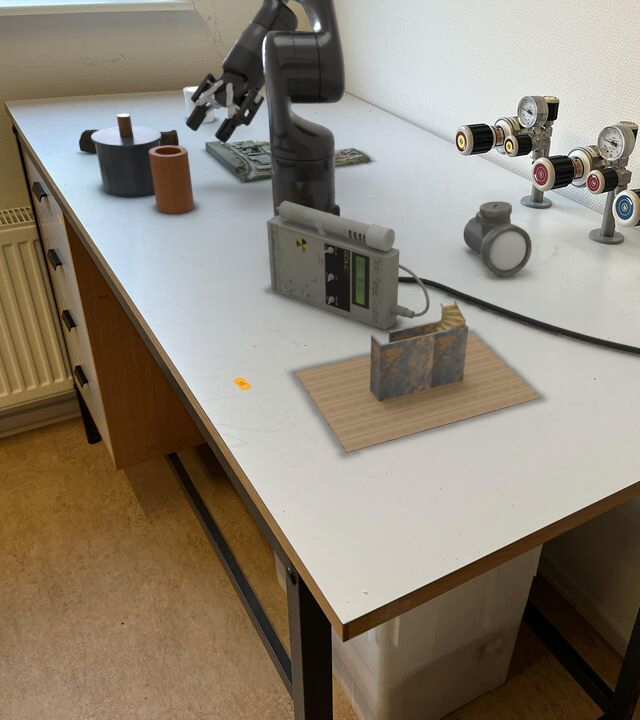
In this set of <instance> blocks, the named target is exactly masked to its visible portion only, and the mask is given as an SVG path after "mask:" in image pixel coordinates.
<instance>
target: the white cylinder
mask: <svg viewBox="0 0 640 720" xmlns="http://www.w3.org/2000/svg"><path fill="white" fill-rule="evenodd" d="M199 86H200V85H192V86H191V85H190V86H186V87H183V89H182V91H183V96H184V102H185V105H186V106H185V107H186V111H187V116H188V118H189V117H190V115H191V113H192V112H193V110H194V108H195V103H194V102H193V101H192V100H191V97H192V96H193V94H194V93H195V91H196V90H197V88H198V87H199ZM203 96H204V93H202V94H201V95H200V97H199V98H202V97H203ZM212 97H213V98H214V95H213V96H212ZM214 99H215V98H214ZM209 104H210V103H209V102H208V103H207V104H206V106H207V105H209ZM206 115H207V116H206V117H205V119H204V120H203V122H202V124H205V123H206V124H207V123H211V122H213V121H215V109H213V110H212V111H210V112H209V113H207V114H206Z"/></svg>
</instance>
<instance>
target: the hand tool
mask: <svg viewBox="0 0 640 720" xmlns="http://www.w3.org/2000/svg"><path fill="white" fill-rule="evenodd" d="M99 130H100V129H84V131H82V132H81V134H80V138H79V140H78V147H79V151H80V152H83V153H91V154H97V151H96V146H95V143H94V142H92V140H91V135H92V134H93V133H95V132H96V131H99ZM159 132H160V133H161V136H162V138H161V140H160V146H167V145H168V146H169V145H170V146H179V145H180V140H179V136H178V135H179V134H178V131H177V129H172V130H170V131H169V130H167V131H159Z"/></svg>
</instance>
